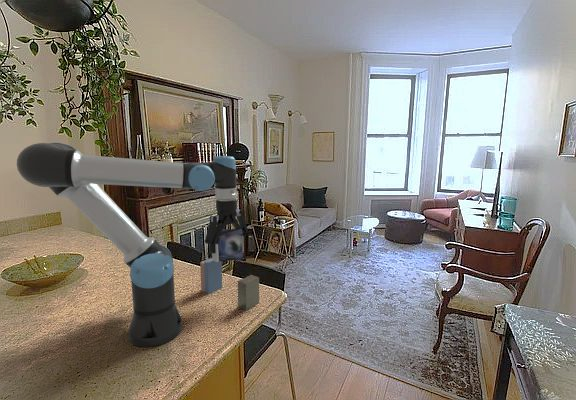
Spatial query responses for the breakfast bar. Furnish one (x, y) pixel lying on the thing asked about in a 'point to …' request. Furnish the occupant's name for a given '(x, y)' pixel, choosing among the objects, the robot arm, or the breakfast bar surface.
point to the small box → (230, 245)
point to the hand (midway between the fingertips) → (228, 256)
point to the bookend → (248, 292)
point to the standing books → (211, 275)
